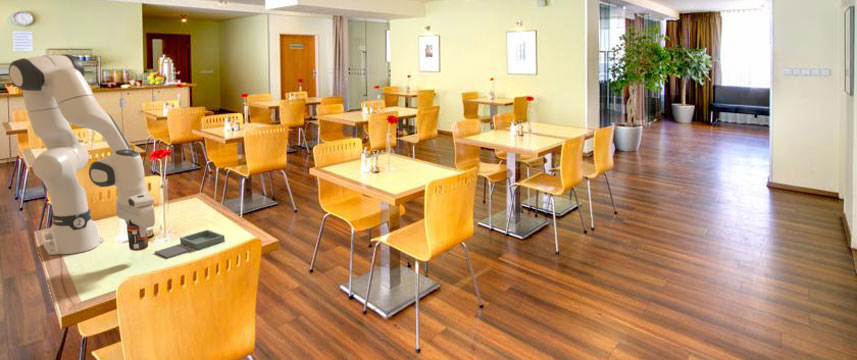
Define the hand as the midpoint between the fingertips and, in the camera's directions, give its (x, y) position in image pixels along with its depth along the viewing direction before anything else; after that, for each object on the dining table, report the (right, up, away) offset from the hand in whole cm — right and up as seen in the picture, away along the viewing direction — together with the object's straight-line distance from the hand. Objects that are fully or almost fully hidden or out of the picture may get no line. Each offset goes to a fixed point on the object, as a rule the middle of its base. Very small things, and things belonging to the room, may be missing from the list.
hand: (137, 234), depth 186 cm
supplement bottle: (0, -5, +1) cm, 6 cm away
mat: (+8, -8, +10) cm, 15 cm away
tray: (+15, -5, +20) cm, 25 cm away
